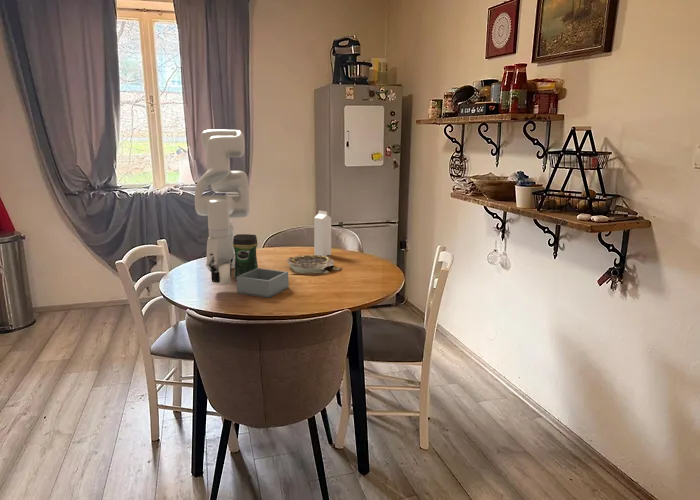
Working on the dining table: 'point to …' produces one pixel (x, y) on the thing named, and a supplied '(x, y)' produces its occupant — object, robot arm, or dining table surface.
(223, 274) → the cream rounded block
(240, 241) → the coffee jar
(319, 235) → the milk
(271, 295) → the tub
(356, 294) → the dining table surface
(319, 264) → the pie
